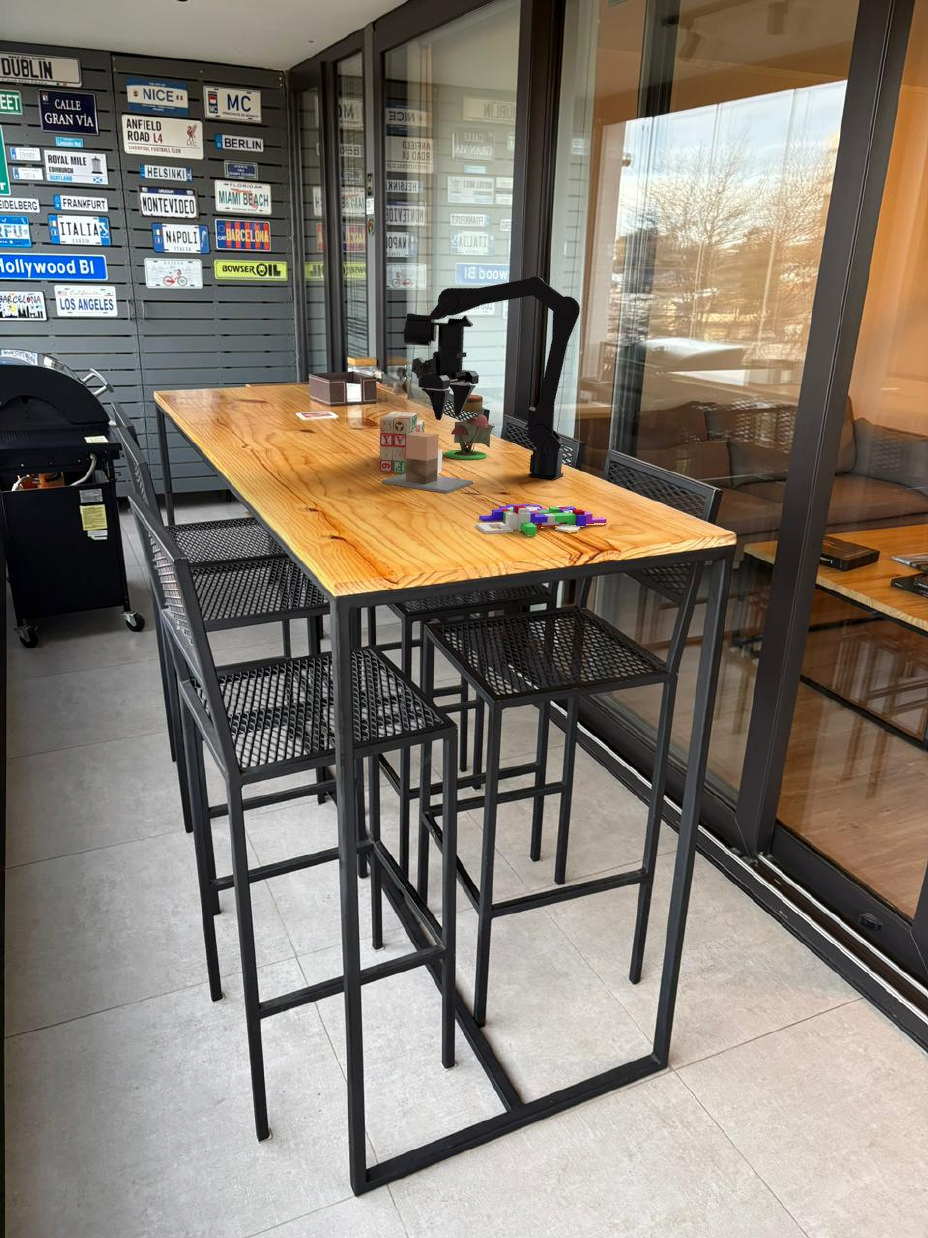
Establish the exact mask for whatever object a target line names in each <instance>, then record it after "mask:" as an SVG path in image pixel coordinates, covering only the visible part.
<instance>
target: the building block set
mask: <svg viewBox="0 0 928 1238" xmlns="http://www.w3.org/2000/svg"><path fill="white" fill-rule="evenodd" d="M593 515H594V514H593V513H592V512H590V511H588V510H583V509H582V508H581V509H578V508H576V507H575V506H571V505H570V506H564V505H555V506H550V507H548V508H546V507H542V506H541V505H539V504H530V503H529V504H528V503H525V504H524V503H523V504H505V505H503V506H499V507H498V509H491V513H490V515H489V514H488V515H478V516H479V517H478V518H479V520H480V521H481V522H480V523H475V527H476V528H477V529H478V530H479V531H480V532H482V533H484V534H485V535H489V534H488V533H493V534H505V533H506V534H507V532H512V533H513V531H515V530H517V531H519V532H520V531H524V532H523V533H525V534H526V535H536V536H537V530H538V529H542V528H541V527H555V526H559V527H556V528H555V530H561V531H578V530H579V529H580V530H581V528H580V526H585V527H587V526H586V524H594V523H606V524H607V520H608V519H607V518H605V517H604V516H598V517H597V516H596V517H593ZM500 521H501V522H500ZM502 521H503V522H502ZM483 522H484V523H483ZM571 525H576V526H571ZM537 528H538V529H537ZM580 530H579V531H580ZM579 531H578V532H579ZM525 534H524V535H525ZM526 535H525V536H526Z"/></svg>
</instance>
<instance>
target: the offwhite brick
mask: <svg viewBox="0 0 928 1238" xmlns="http://www.w3.org/2000/svg"><path fill="white" fill-rule="evenodd" d="M442 464H443V449H438V471H437V475H438V474H440V473H441V472H442V468H443V467H442V466H443V465H442Z"/></svg>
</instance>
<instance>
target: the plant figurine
mask: <svg viewBox="0 0 928 1238" xmlns="http://www.w3.org/2000/svg"><path fill="white" fill-rule="evenodd" d="M483 398H484V397H483V396H482V395H478V394H472V393H471V394H470V396H469V398H468V400H467V402H466V404H465V406H464V408H463V410H462V412H465V413H467V412H468V413H476V412H481V411H483V405H484V404H483V403H484V402H483V401H484V399H483ZM452 400H453V401H452V402H453V403H452V410H454V397H453V399H452ZM494 428H495V425H491V424H489V422H488V418H487V416H486V415H484V414H481V413H478V414H475V415H472V416H471V418H469V419H468V420H462V421H461V420H460V421H455V422H454V428H453V429H452V431H451V432H450V434H451V435H453V443H454V444H459V446H460V449H452V450H446V451H445V452H444V456H445V457H447V458H450V459H455V460H483V459H486V458H487V456H488V455H487V453H485V452H483V451H478V450H475V445H476V444H482V445H485V446H487V447H488V448H489V449H490V448H491V433H492V431H493V429H494Z"/></svg>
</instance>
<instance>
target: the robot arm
mask: <svg viewBox="0 0 928 1238" xmlns="http://www.w3.org/2000/svg"><path fill="white" fill-rule="evenodd" d="M527 297H534V298H535V299H536V300H538V301H539V302H540V303H542V304H543V305H544V306H545V307H547V308H548V309H549V310H551V311H552V328H551V333H552V334H551V335H552V336H551V342H550V348H549V351H548V358H547V361H546V366H545V370H544V376H543V380H542V384H541V388H540V394H539V398H538V402H537V404H536V406H535V407H533V406H530V407H529V408H528V418H527V422H526V423H525V425H524V427H525V429H527V430H526V433H527V437H528V439H529V440H530V441H531V442H532V443H533V444H534V445H535V447H534V448H532V453H531V454H530V459H529V473H528V475H527V476H528V477H534V478H540V479H545V480H557V479H558V478H562V477H563V476H564V475H565V473H564V472H562V465H563V456H564V455H563V454H564V450H563V449H560V448H561V446H562V440H563V439H562V438H561V436H560V435H559V434H558V433H557V431H556V430H554V429H555V428H554V425H555V407H556V406H555V405H556V404H555V403H556V399H557V398H556V397H557V393H558V389H559V384H560V379H561V375H562V371H563V365H564V361H565V356H566V352H567V348H568V345H569V344H568V343H569V340H570V338H571V335H572V333H573V330H574V328H575V325H576V324H577V321H578V318H579V316H580V313H581V311H580V310H581V307H580V303H579V301H578V300H577V299H576V298H575V297H573V296H568V295H566V296H564V295H563V294H561V293H560V292H559V291H557V290H556V289H554V288H553V287H552V286H551V285H549V284H548V283H547V282H545V281H544V279H543V278H541V277H540V276H537V275H535V276H531V277H528V278H525V279H519V280H515V281H508V282H503V283H498V284H493V285H488V286H482V287H448V288H445V289H443V290H441V292H440V294H439V295H438V297H437V305H435V307H434V308H433V310H431V311H430V313H429V314H417V313H412V312H410V313H409V312H408V313H406V319H405V325H404V329H403V341H404V345H405V346H418V347H419V346H423V347H431V345H432V342H434V343H435V342H436V340H437V350H436V351H434V352H433V353H432V358H429V359H423V357H416V358H413V359H412V364H411V372H412V373H413V374H415V376H416V379H417V381H418V382H417V383H418V385H417V386H418V387H417V388H420V389H421V391H422V392H424V393H426V395H427V396H428V397H429V400H430V403H431V407H432V410H433V413H434V417H435V420H436V421H441V420H442V417H443V414H444V411H445V410H446V409H445V408H446V405H447V402H448V398H449V395H450V392H451V391H452V393H453V395H452V396H453V397H454V409H453V411H454V416H455V417H460V416H461V414H462V412H463V411H462V410H463V408H464V406H465V404H466V402H467V400H468V398H469V396H470V394H471V395H472V392H473V391H474V389H475V388H476V385H477V384H479V381H480V380H479V377H480V375H479V374H478V372H477V371H476V370H469V369H468V370H466V369H463V363H464V362H463V361H464V358H467V351H465V352H464V338H465V335H464V334H465V328H471V327H473V326H474V323H473V322H472V321H471V320H470V319H469V317H468V316H467V314H465V315H463V316H462V317H461V318H454V317H453V318H452V317H451V316H456V315H460V314H462V313H465V312H468V311H470V310H473V309H475V308H478V307H481V306H483V305H489V304H492V303H493V304H494V303H499V302H504V301H508V300H515V299H520V298H527ZM447 316H449V318H448V320H447V322H435V321H436V320H437V321H438V320H442V319H444V318H446V317H447ZM437 326H438V328H437ZM437 329H438V331H437ZM437 332H438V333H437ZM449 388H450V389H449Z"/></svg>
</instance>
